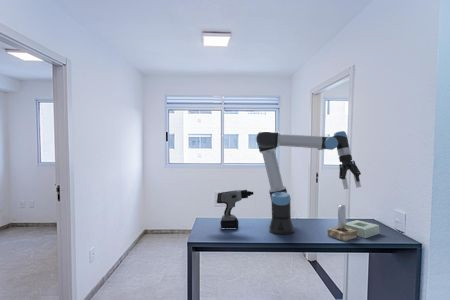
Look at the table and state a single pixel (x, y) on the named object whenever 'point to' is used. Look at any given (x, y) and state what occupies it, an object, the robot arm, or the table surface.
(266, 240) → the table surface
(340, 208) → the cylinder
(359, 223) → the sage rack
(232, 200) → the cordless drill
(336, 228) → the maple sleeve
